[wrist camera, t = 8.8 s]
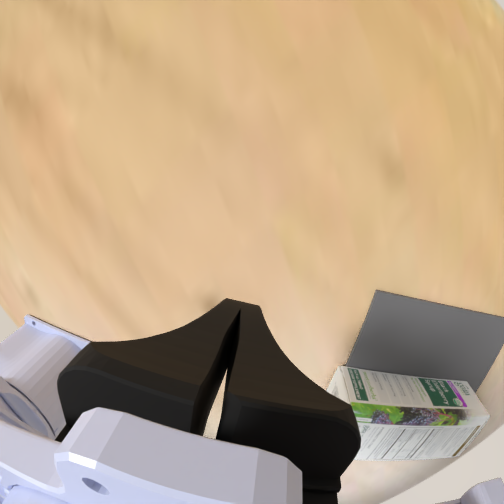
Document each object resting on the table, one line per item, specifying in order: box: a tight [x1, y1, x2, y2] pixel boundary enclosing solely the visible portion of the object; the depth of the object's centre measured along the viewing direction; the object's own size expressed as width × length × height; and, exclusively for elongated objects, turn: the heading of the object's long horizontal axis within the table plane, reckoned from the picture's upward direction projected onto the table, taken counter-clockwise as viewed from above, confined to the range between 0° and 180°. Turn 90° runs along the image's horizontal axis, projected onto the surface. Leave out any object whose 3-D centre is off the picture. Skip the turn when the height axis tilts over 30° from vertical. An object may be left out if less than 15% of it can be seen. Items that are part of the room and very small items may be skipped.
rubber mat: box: [345, 290, 504, 393], centre depth 23 cm, size 16×14×1 cm
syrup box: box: [326, 366, 490, 461], centre depth 21 cm, size 6×6×14 cm
